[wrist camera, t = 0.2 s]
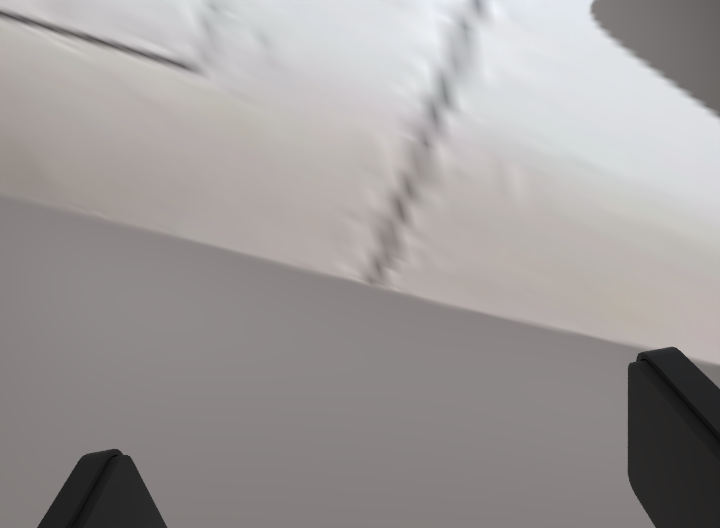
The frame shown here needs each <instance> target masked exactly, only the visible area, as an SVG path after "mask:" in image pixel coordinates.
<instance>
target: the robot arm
mask: <svg viewBox="0 0 720 528" xmlns="http://www.w3.org/2000/svg"><path fill="white" fill-rule="evenodd" d="M628 476H629V481H630V484H631V486H632V489H633V491H634V493H635V495H636V496H637V498H638V499H639V501H640V503H641V504H642V506H643V508H644V509H645V511H646V512H647V514H648V516H649V517H650V519H651V521H652V522H653V524H654V525H655V527H656V528H720V389H719V388H718V387H717V386H716V385H715V384H714V383H713V382H712V381H711V380H710V379H709V378H708V377H707V376H706V375H705V374H703V373H702V371H700V370H699V369H698V368H697V367H696V366H695V365H694V364H693V363H692V362H691V361H690V360H689V359H688V358H687V357H686V356H685V355H684V354H683V353H682V352H681V351H680V350H678V349H677V348H675V347H668V348H663V349H657V350H652V351H646V352H641V353H639V354H638V356H637V360H636V362H633V363H630V364H629V366H628ZM37 528H167V526H166V525H165V522H164V521H163V519H162V517H161V515H160V513H159V511H158V509H157V507H156V505H155V503H154V501H153V499H152V497H151V495H150V493H149V491H148V490H147V488H146V486H145V484H144V482H143V480H142V478H141V476H140V474H139V472H138V470H137V468H136V466H135V464H134V462H133V461H132V459H131V457H130V456H128V455H123V454H122V453H121V451H119V450H118V449H111V450H106V451H100V452H95V453H89V454H86V455H84V456H83V457H82V458H81V459H80V460H79V461H78V463H77V465H76V466H75V468H74V470H73V471H72V473H71V474H70V476H69V477H68V479H67V481H66V482H65V484H64V486H63V487H62V489H61V490H60V492H59V494H58V495H57V497H56V498H55V500H54V502H53V503H52V505H51V506H50V508H49V510H48V512H47V513H46V515H45V516H44V518H43V519H42V521H41V522H40V524H39V526H38V527H37Z"/></svg>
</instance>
